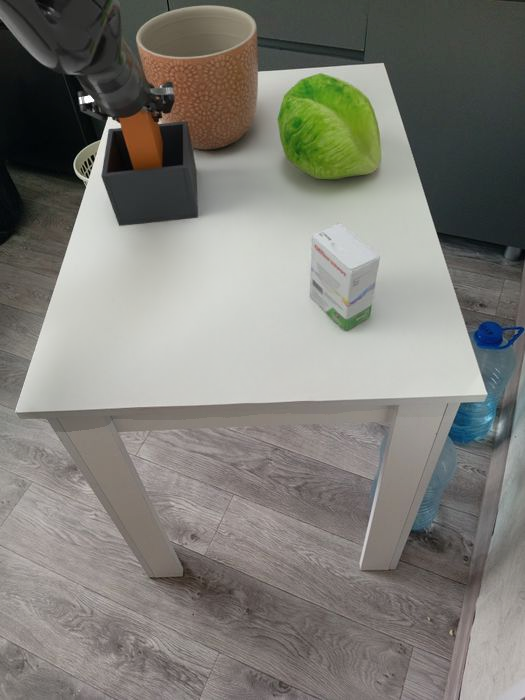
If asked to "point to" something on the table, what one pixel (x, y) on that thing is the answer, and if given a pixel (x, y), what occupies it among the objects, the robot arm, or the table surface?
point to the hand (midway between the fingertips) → (140, 117)
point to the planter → (204, 70)
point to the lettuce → (329, 128)
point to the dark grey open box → (152, 179)
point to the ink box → (343, 275)
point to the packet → (143, 141)
